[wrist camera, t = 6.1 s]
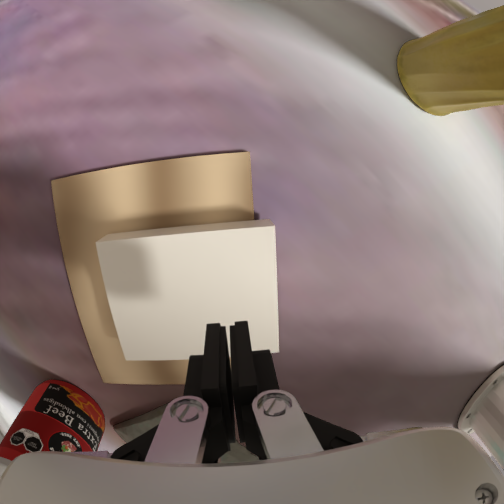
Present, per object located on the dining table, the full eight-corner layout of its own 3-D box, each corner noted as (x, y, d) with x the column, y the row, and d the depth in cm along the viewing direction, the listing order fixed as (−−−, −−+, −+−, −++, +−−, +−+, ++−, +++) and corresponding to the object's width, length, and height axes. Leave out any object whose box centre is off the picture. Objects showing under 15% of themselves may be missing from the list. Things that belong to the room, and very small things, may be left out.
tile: (274, 226, 16) (95, 242, 15) (279, 352, 18) (125, 360, 18) (269, 218, 18) (108, 233, 17) (274, 334, 20) (133, 343, 20)
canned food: (123, 421, 23) (95, 518, 12) (79, 438, 23) (50, 516, 13) (62, 364, 20) (6, 457, 10) (26, 390, 21) (-20, 464, 11)
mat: (249, 151, 17) (249, 151, 17) (263, 375, 22) (263, 378, 21) (54, 180, 16) (51, 180, 16) (105, 379, 21) (103, 382, 21)
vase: (393, 29, 15) (537, -46, 1) (455, 55, 16) (593, 24, 2) (396, 104, 17) (582, 75, 3) (458, 124, 17) (617, 130, 4)
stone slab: (181, 382, 23) (106, 424, 23) (181, 402, 21) (102, 444, 20) (300, 476, 30) (237, 505, 30) (307, 491, 27) (241, 520, 27)
